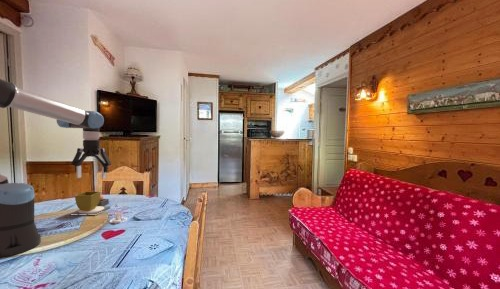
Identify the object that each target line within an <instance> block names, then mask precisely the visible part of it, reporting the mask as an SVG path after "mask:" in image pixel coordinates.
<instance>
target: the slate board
mask: <svg viewBox="0 0 500 289" xmlns="http://www.w3.org/2000/svg"><path fill="white" fill-rule="evenodd" d="M109 209H111V205H110V206H109V205H105V206H96V208H94V209H92V210H90V211H84V210H83V211H82V210H80V209H77V210H75V211H74V212H71V213H70V215H71V214H97V213H99V212H101V211H104V212H106V211H107V210H109Z"/></svg>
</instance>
